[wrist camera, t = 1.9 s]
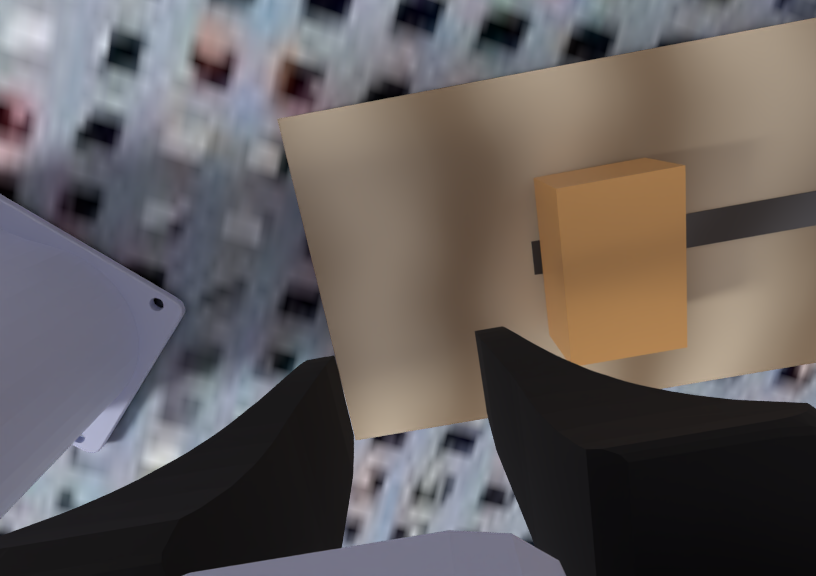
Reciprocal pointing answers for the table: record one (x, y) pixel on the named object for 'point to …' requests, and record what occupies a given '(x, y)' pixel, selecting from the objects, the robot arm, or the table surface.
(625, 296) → the fader knob
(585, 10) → the table surface
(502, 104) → the fader panel
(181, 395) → the table surface
